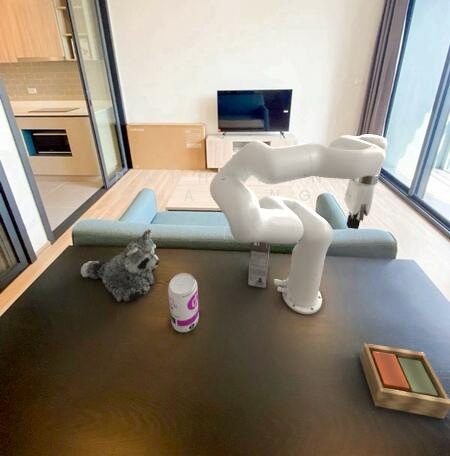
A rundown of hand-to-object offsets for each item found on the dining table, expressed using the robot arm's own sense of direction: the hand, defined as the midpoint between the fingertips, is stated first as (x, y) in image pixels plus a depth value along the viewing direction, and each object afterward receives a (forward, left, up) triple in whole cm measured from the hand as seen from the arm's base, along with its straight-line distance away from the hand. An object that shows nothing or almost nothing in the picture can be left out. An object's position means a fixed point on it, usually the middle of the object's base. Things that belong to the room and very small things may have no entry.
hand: (352, 226), depth 79 cm
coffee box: (-29, -5, -23) cm, 38 cm away
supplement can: (-49, -26, -23) cm, 60 cm away
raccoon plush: (-76, -19, -23) cm, 82 cm away
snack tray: (+7, -30, -23) cm, 38 cm away
